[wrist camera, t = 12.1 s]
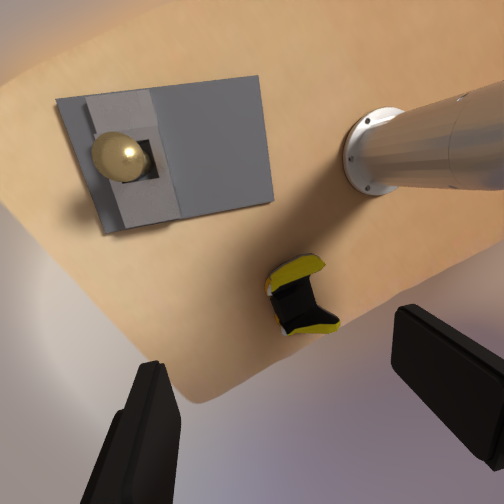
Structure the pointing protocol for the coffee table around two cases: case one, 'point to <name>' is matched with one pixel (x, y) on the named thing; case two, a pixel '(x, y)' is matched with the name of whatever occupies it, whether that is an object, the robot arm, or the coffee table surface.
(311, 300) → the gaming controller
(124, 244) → the coffee table surface
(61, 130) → the coffee table surface
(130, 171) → the pin
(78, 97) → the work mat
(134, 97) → the grey slotted housing block
